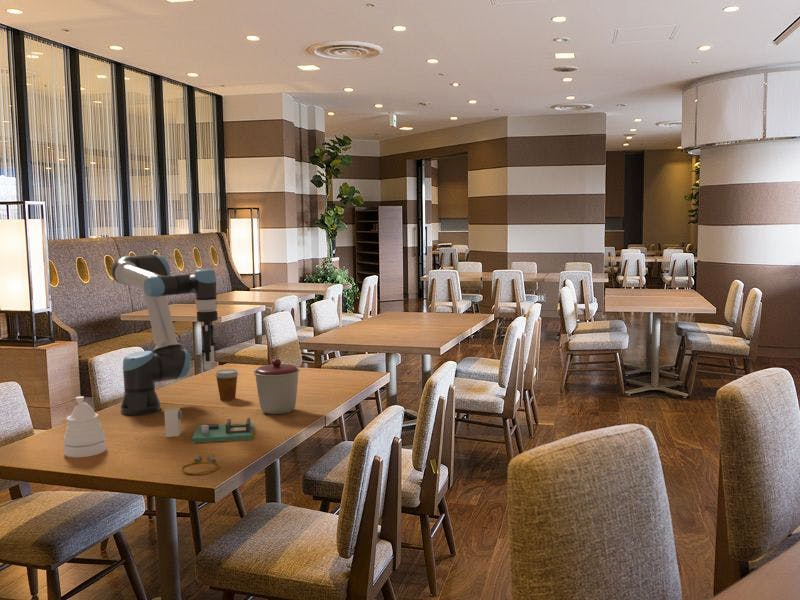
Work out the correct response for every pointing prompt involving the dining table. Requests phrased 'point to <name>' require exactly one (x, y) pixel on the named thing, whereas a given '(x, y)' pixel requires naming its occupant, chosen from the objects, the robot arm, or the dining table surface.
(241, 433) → the board
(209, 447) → the dining table surface
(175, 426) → the plug
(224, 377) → the disposable coffee cup
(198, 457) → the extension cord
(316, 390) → the dining table surface
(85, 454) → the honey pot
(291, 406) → the canister
